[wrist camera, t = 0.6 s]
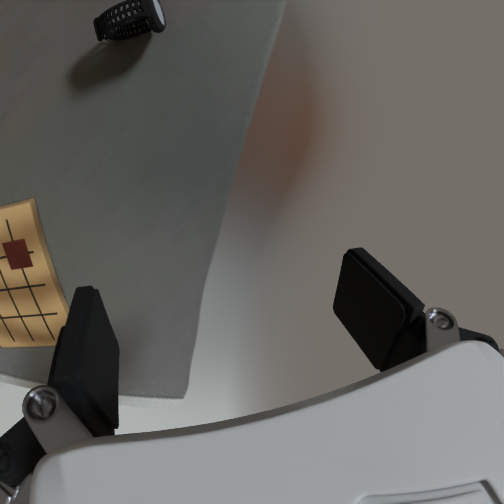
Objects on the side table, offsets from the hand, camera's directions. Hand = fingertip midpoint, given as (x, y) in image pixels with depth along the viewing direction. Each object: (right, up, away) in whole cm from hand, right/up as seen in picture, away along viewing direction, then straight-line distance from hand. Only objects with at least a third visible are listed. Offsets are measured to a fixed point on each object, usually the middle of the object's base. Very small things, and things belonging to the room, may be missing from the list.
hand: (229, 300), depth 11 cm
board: (-24, -1, +11) cm, 26 cm away
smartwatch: (-8, +19, +5) cm, 22 cm away
